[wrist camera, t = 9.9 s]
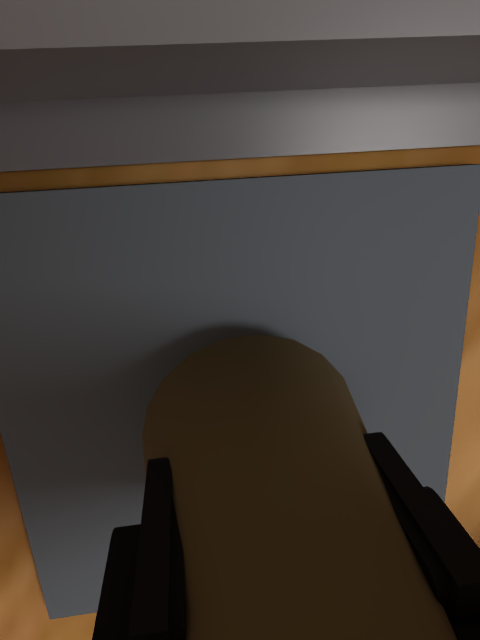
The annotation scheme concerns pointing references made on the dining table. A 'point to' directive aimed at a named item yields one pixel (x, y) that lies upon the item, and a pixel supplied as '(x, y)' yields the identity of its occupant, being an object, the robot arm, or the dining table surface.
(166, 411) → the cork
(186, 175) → the dining table surface
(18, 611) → the dining table surface
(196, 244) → the slate mat
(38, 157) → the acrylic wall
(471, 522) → the dining table surface
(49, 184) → the dining table surface
